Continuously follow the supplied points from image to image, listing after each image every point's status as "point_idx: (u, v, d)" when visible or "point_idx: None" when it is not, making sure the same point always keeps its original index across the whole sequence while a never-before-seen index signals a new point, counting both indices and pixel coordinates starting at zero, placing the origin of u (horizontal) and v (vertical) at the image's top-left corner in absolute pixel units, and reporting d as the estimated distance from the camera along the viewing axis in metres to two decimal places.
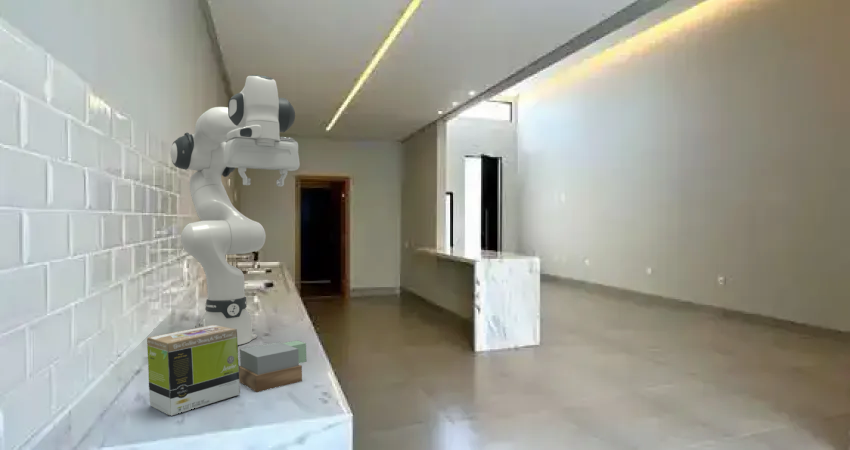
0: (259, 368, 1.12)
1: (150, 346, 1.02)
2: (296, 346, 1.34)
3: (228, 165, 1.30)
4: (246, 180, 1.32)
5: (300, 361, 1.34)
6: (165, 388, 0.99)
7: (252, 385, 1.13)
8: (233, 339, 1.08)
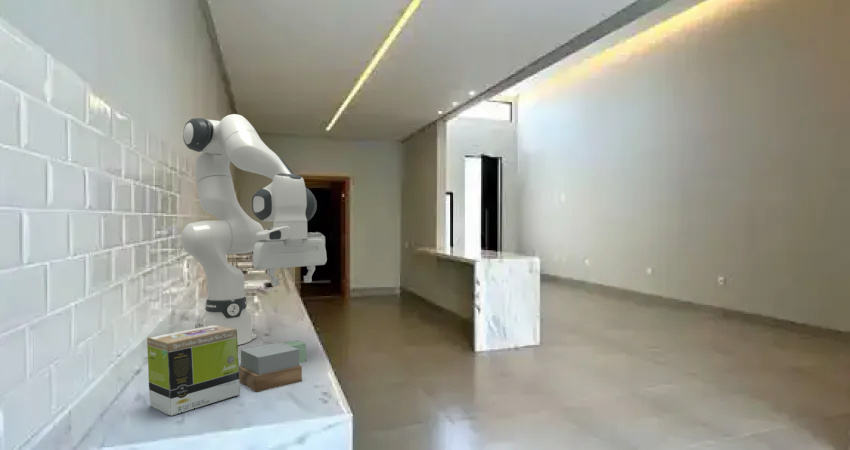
0: (259, 368, 1.12)
1: (150, 346, 1.02)
2: (296, 346, 1.34)
3: (257, 268, 1.29)
4: (275, 281, 1.32)
5: (300, 361, 1.34)
6: (165, 388, 0.99)
7: (252, 385, 1.13)
8: (233, 339, 1.08)
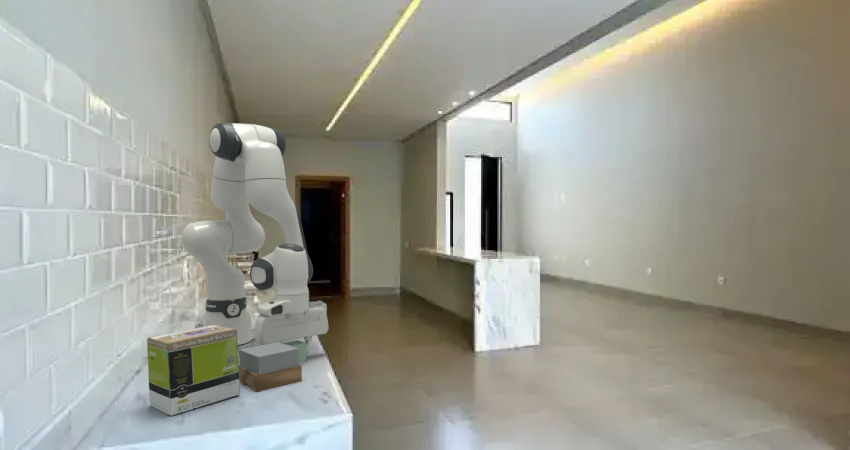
0: (260, 368, 1.12)
1: (150, 346, 1.02)
2: (296, 346, 1.34)
3: (259, 343, 1.29)
4: None
5: (300, 361, 1.34)
6: (165, 388, 0.99)
7: (252, 385, 1.13)
8: (233, 339, 1.08)
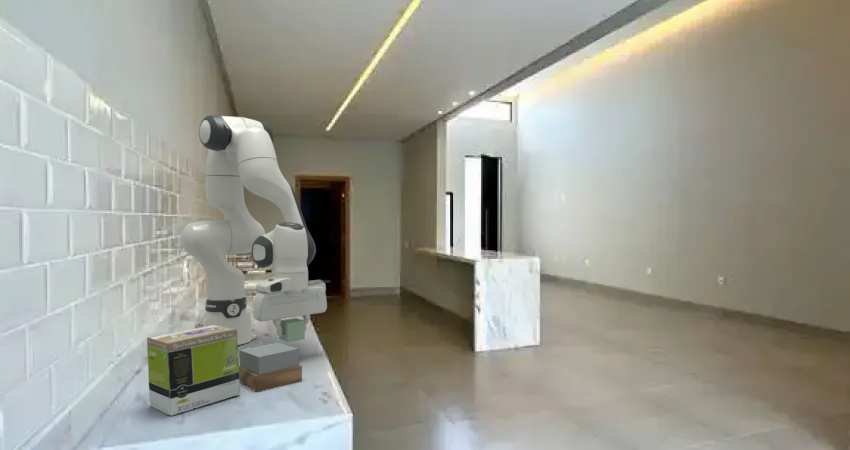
0: (260, 368, 1.12)
1: (150, 346, 1.02)
2: (295, 323, 1.34)
3: (258, 320, 1.30)
4: (280, 331, 1.33)
5: (298, 338, 1.35)
6: (165, 388, 0.99)
7: (252, 385, 1.13)
8: (233, 339, 1.08)
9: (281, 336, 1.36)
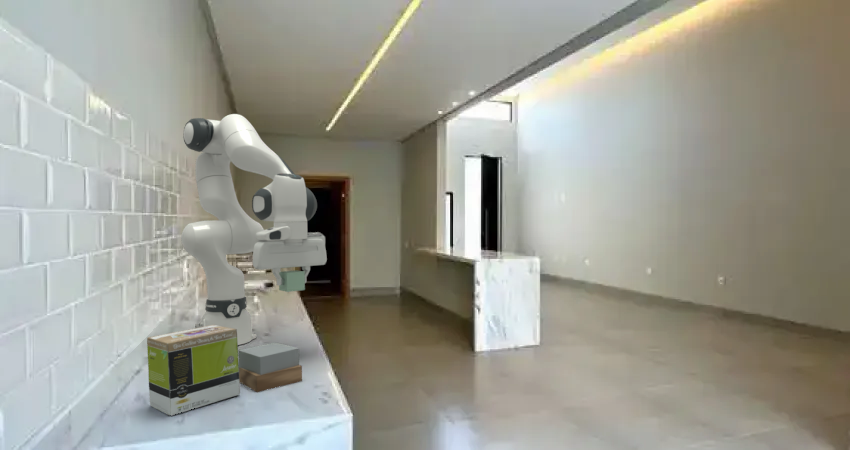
0: (261, 368, 1.12)
1: (150, 346, 1.02)
2: (294, 273, 1.34)
3: (257, 268, 1.29)
4: (280, 281, 1.33)
5: (298, 289, 1.34)
6: (165, 388, 0.99)
7: (252, 385, 1.13)
8: (233, 339, 1.08)
9: (281, 287, 1.35)
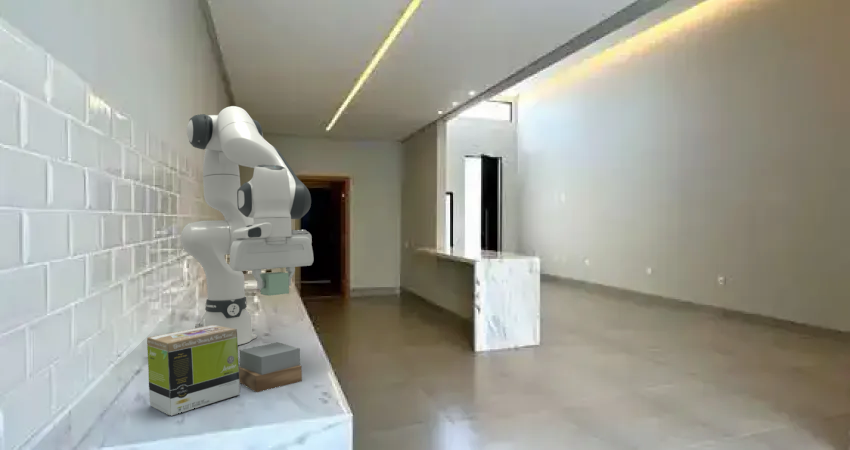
0: (262, 368, 1.12)
1: (150, 346, 1.02)
2: (277, 275, 1.20)
3: (235, 270, 1.16)
4: (261, 283, 1.19)
5: (282, 292, 1.21)
6: (165, 388, 0.99)
7: (252, 385, 1.13)
8: (233, 339, 1.08)
9: (262, 290, 1.21)
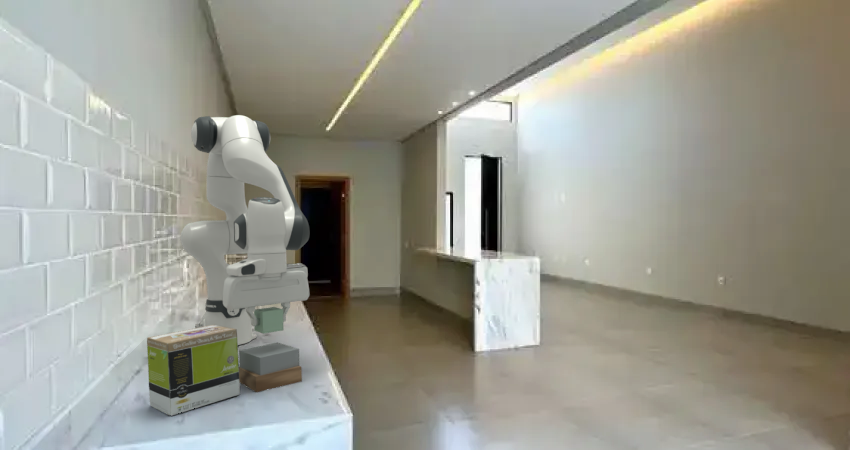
0: (261, 368, 1.12)
1: (150, 346, 1.02)
2: (271, 312, 1.17)
3: (228, 308, 1.12)
4: (254, 321, 1.16)
5: (276, 329, 1.17)
6: (165, 388, 0.99)
7: (251, 386, 1.13)
8: (233, 339, 1.08)
9: (256, 327, 1.18)
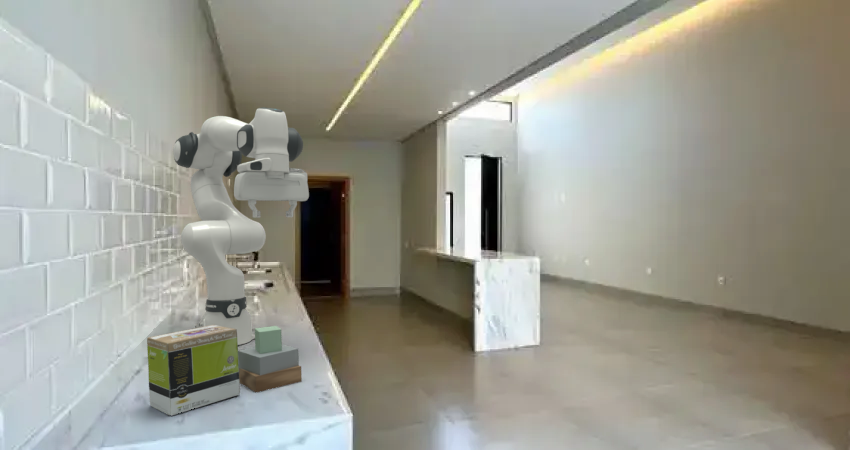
0: (261, 368, 1.12)
1: (150, 346, 1.02)
2: (269, 332, 1.16)
3: (238, 198, 1.30)
4: (256, 213, 1.33)
5: (274, 350, 1.17)
6: (165, 388, 0.99)
7: (251, 386, 1.13)
8: (233, 339, 1.08)
9: (256, 346, 1.18)
